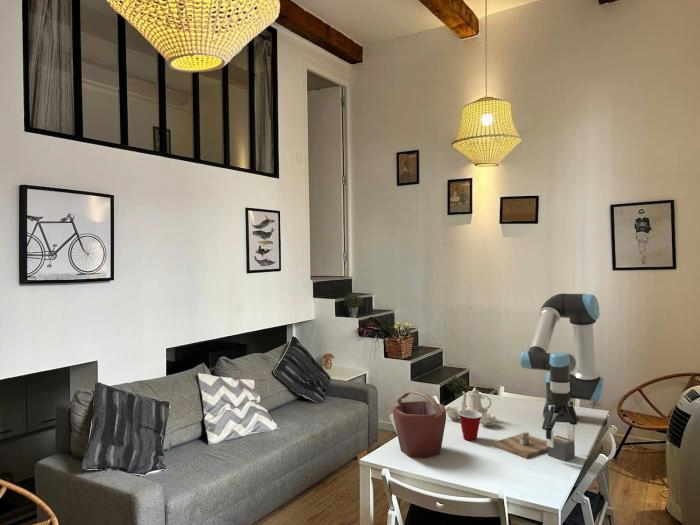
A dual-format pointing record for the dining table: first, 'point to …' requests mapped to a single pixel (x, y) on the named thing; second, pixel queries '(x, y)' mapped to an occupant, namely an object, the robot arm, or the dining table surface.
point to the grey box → (562, 449)
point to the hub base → (522, 445)
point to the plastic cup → (469, 423)
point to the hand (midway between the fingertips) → (560, 443)
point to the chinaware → (473, 408)
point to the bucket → (420, 426)
